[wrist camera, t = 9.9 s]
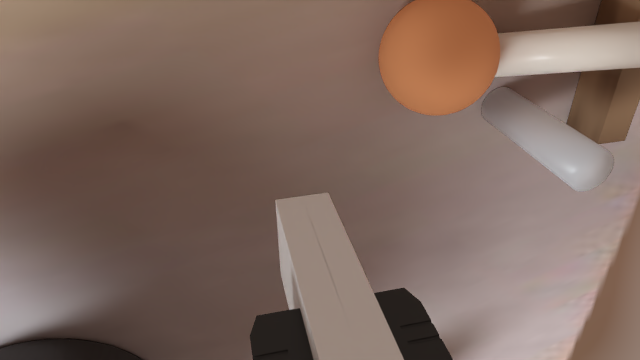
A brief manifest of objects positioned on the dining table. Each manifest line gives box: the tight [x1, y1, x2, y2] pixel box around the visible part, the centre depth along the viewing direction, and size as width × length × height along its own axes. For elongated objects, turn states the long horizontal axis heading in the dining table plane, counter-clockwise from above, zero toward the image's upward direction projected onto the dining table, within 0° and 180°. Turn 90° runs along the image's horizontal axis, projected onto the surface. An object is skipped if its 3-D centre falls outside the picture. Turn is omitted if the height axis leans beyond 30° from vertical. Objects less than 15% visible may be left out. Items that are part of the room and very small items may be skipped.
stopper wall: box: [567, 0, 640, 144], centre depth 29 cm, size 11×2×3 cm, turn 0°
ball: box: [379, 0, 500, 115], centre depth 25 cm, size 6×6×6 cm
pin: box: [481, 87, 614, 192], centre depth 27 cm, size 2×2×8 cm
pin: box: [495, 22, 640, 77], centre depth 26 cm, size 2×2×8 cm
